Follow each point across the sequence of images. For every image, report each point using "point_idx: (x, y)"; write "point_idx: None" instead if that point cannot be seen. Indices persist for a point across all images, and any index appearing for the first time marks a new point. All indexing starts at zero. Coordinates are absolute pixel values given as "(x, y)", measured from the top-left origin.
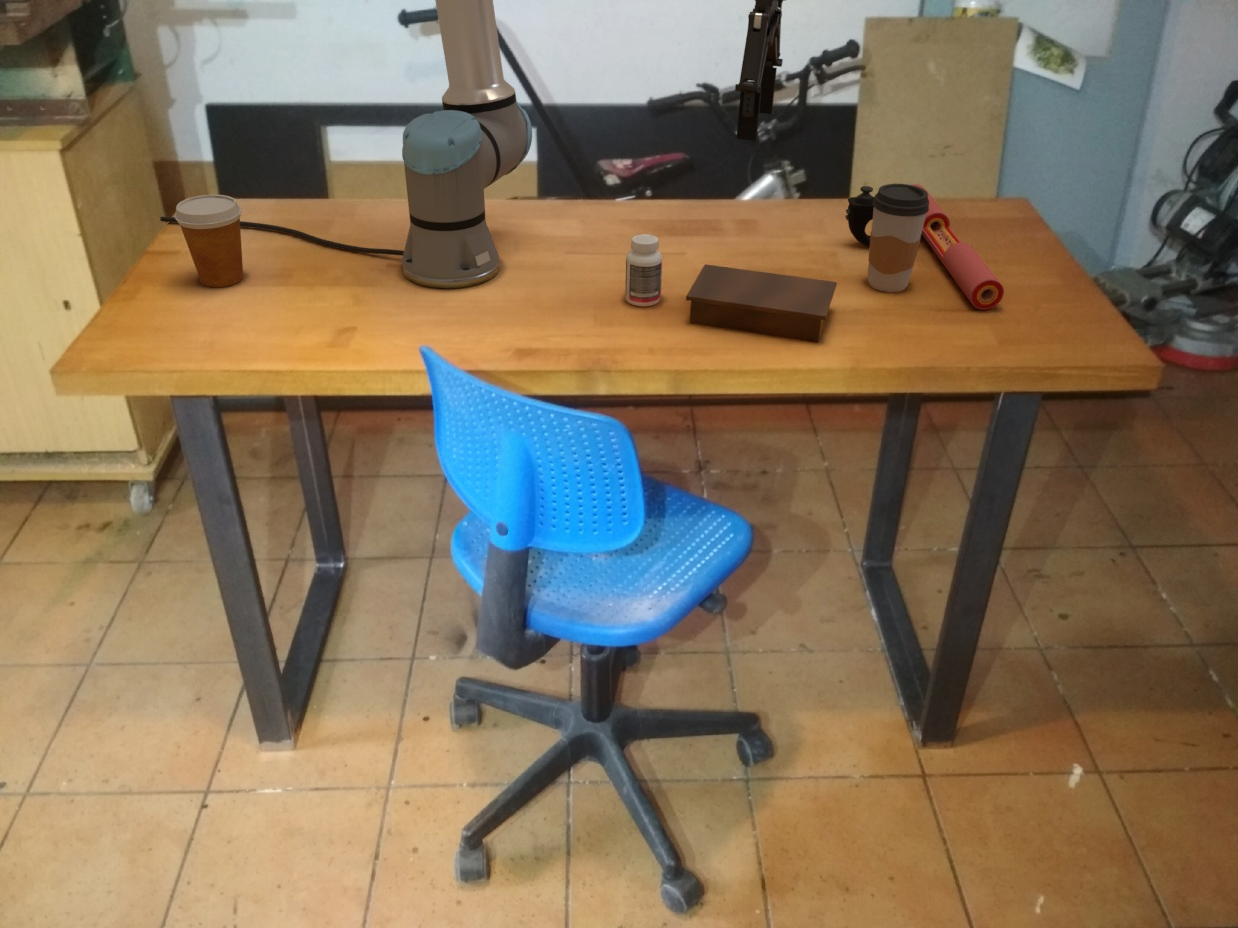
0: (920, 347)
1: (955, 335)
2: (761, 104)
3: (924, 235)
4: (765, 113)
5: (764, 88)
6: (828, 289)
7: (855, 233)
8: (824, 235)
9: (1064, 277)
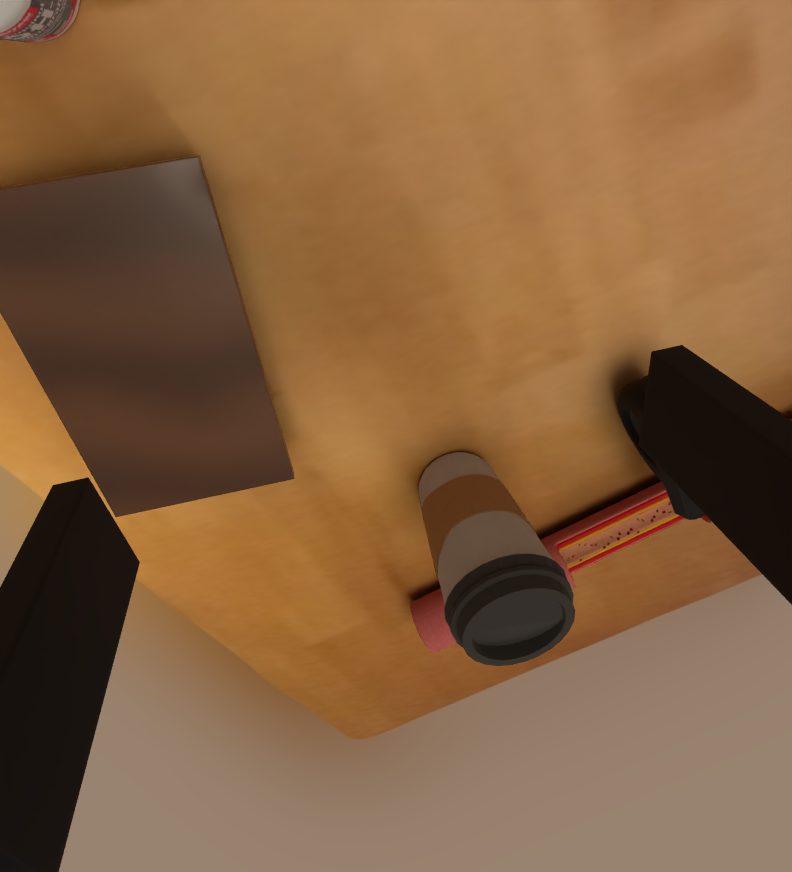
0: (234, 585)
1: (308, 604)
2: (679, 419)
3: (662, 486)
4: (643, 417)
5: (750, 493)
6: (246, 479)
7: (625, 395)
8: (670, 302)
9: (573, 640)
